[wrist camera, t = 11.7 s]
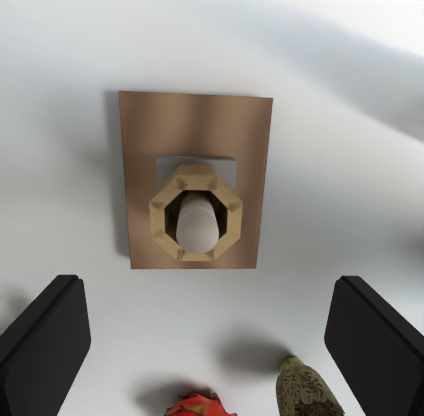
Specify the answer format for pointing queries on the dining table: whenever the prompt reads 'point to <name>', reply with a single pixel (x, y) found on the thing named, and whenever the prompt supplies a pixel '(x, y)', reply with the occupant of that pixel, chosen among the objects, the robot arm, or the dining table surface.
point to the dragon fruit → (198, 406)
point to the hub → (168, 219)
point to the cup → (304, 391)
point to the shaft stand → (196, 154)
